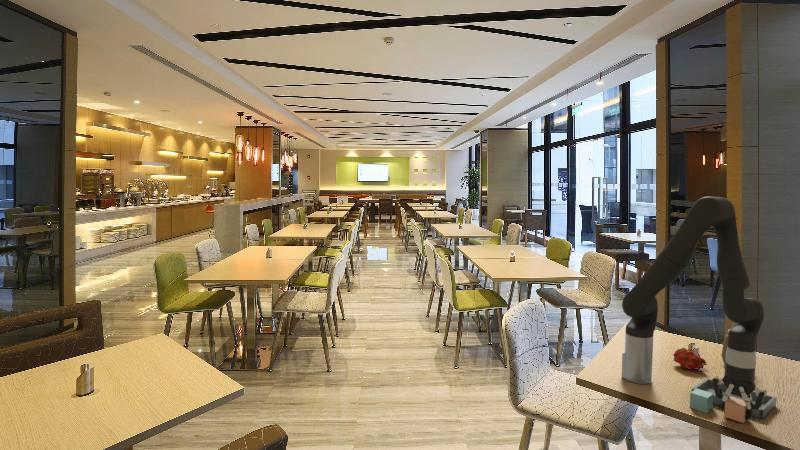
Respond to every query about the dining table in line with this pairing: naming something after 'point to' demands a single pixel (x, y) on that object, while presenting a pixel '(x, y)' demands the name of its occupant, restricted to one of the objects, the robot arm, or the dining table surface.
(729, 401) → the terracotta block
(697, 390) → the teal block
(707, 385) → the tray
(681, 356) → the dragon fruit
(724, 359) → the squeeze bottle
